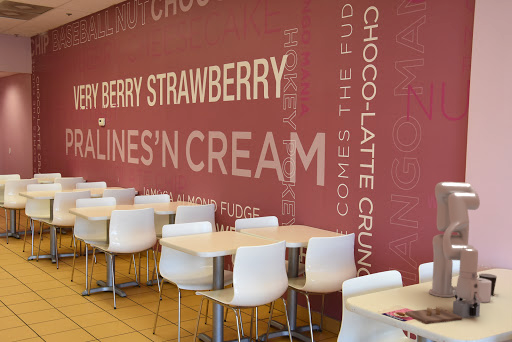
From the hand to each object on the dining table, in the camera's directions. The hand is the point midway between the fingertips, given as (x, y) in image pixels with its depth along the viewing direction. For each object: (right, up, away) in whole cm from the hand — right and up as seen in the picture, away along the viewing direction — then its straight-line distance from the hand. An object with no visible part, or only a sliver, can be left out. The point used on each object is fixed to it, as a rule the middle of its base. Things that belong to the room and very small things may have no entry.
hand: (466, 312), depth 241 cm
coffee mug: (+27, -1, +40) cm, 48 cm away
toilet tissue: (+17, -1, +27) cm, 32 cm away
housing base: (-17, -1, -4) cm, 17 cm away
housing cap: (0, -1, 0) cm, 1 cm away
